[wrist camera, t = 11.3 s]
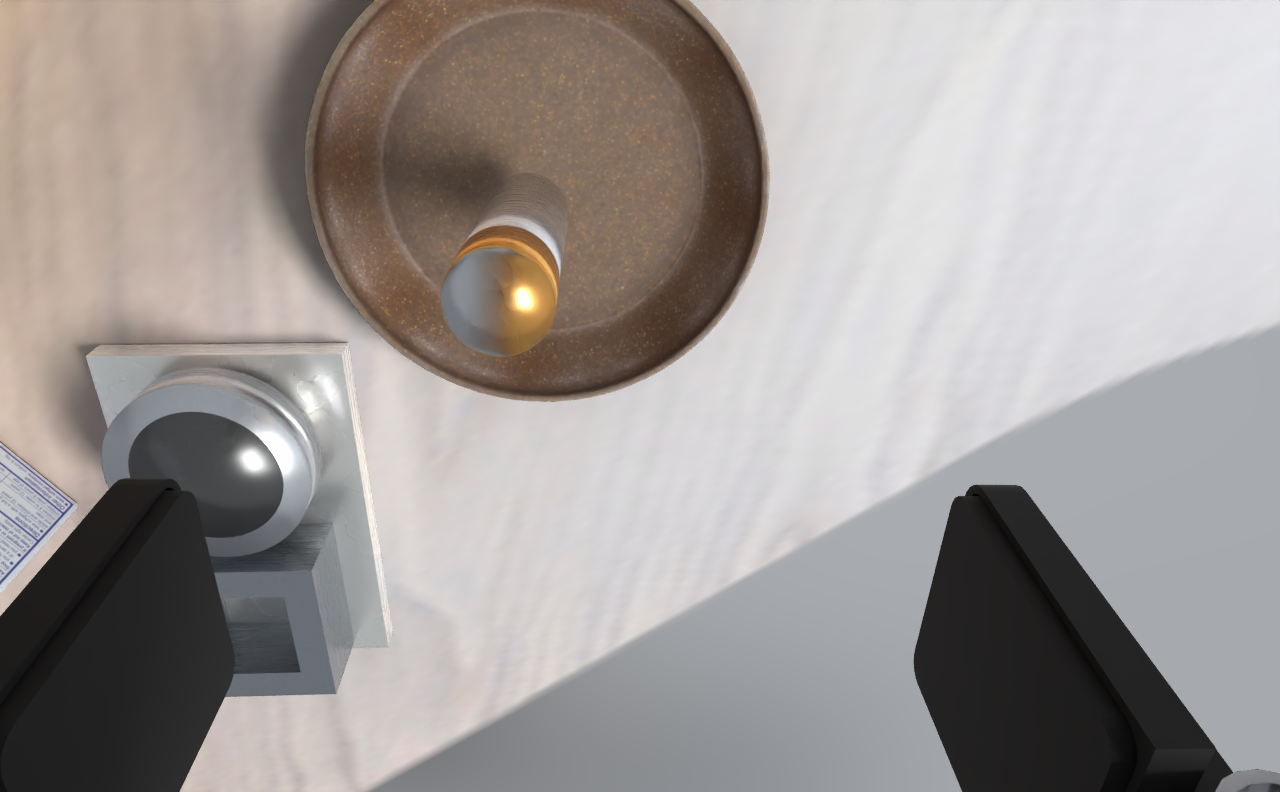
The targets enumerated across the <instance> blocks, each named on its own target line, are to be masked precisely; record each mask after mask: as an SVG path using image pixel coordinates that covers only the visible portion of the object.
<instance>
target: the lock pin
mask: <svg viewBox="0 0 1280 792" xmlns="http://www.w3.org/2000/svg"><path fill="white" fill-rule="evenodd" d="M568 221H569V209H568V204H567V201H566V199H565V196H564V194H563V193H562V191H561V190H560V189H559V187H558V186H557V185H556V184H555V183H553V182H552V181H551V180H549V179H548V178H546V177H544V176H541V175H538V174H534V173H519V174H515V175H512V176H510V177H508V178H506V179H505V180H503V181H502V182H501V183H499V185H498V186H497V187H496V188H495V189H494V191H493V193H492V194H491V196H490V198H489V200H488V202H487V203H486V205H485V207H484V209H483V211H482V212H481V214H480V216H479V218H478V219H477V221H476V223H475V225H474V227H473V228H472V230H471V232H470V234H469V236H468V237H467V239H466V241H465V243H464V244H463V246H462V247H461V248H460V250H459V252H458V254H457V255H456V257H455V259H454V261H453V262H452V264H451V266H450V268H449V270H448V271H447V273H446V275H445V277H444V279H443V282H442V285H441V290H440V308H441V313H442V316H443V319H444V321H445V323H446V325H447V327H448V329H449V330H450V331H451V333H452V334H453V335H454V336H455V337H456V338H457V339H458V340H459V341H460V342H461V343H462V344H464V345H465V346H467V347H468V348H470V349H472V350H474V351H476V352H478V353H481V354H484V355H489V356H496V357H507V356H513V355H517V354H520V353H523V352H525V351H527V350H529V349H531V348H533V347H534V346H535V345H537V344H538V343H539V342H540V341H541V340H542V339H543V338H544V337H545V335H546V334H547V333H548V331H549V329H550V327H551V325H552V323H553V320H554V316H555V311H556V304H557V297H558V291H559V283H560V273H561V266H562V260H563V253H564V247H565V240H566V234H567V227H568Z"/></svg>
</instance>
